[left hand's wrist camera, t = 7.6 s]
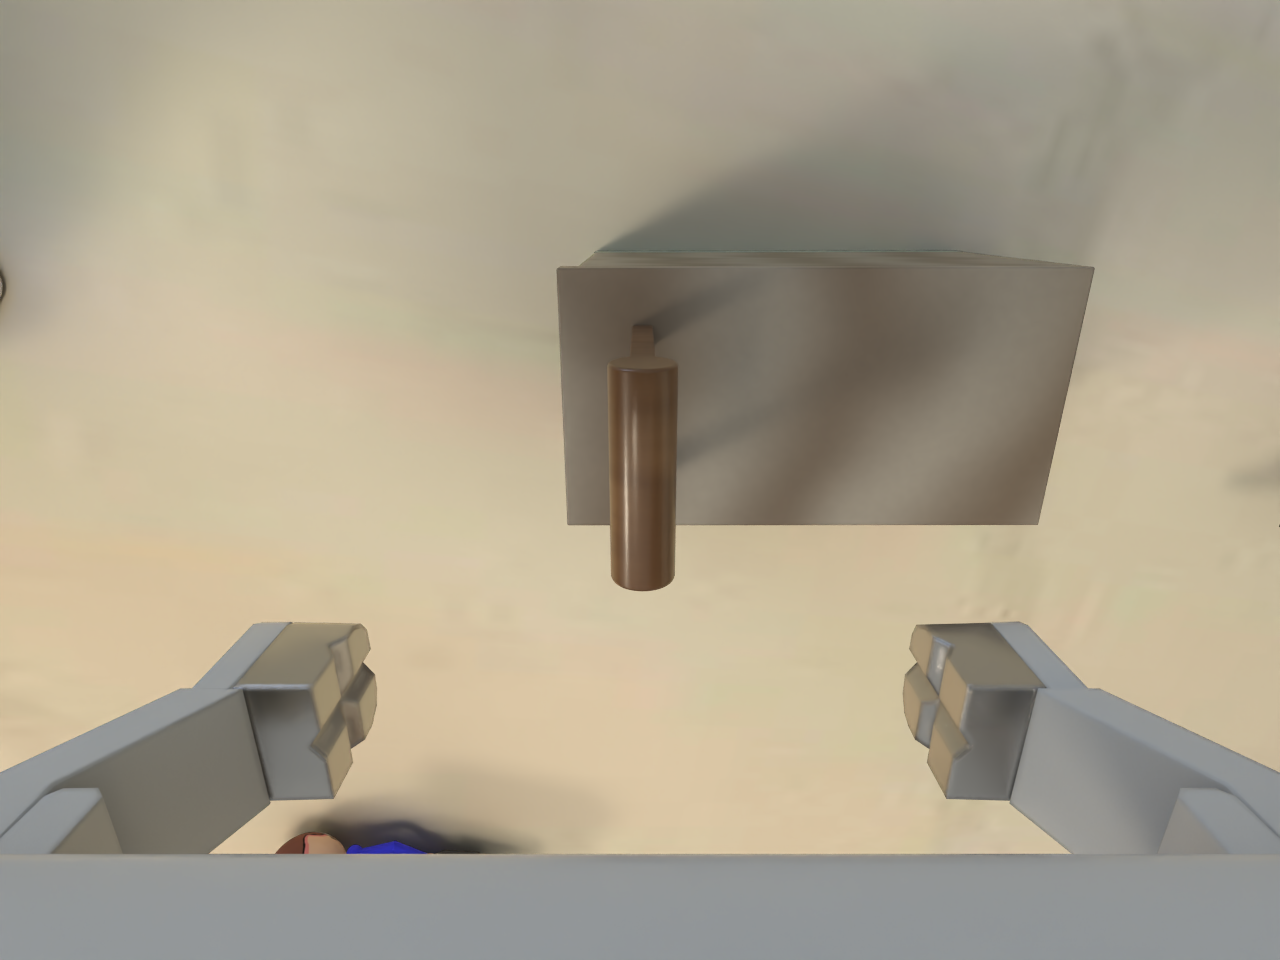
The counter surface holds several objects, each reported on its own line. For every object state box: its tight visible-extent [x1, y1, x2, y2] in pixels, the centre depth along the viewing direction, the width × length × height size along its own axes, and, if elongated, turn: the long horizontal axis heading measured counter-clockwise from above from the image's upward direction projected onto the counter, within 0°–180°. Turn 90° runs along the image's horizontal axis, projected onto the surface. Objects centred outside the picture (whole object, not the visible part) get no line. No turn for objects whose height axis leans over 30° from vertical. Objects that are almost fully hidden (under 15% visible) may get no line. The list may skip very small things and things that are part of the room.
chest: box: [580, 251, 1071, 266], centre depth 30 cm, size 17×9×10 cm, turn 90°
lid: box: [557, 265, 1094, 591], centre depth 21 cm, size 18×9×9 cm, turn 90°
